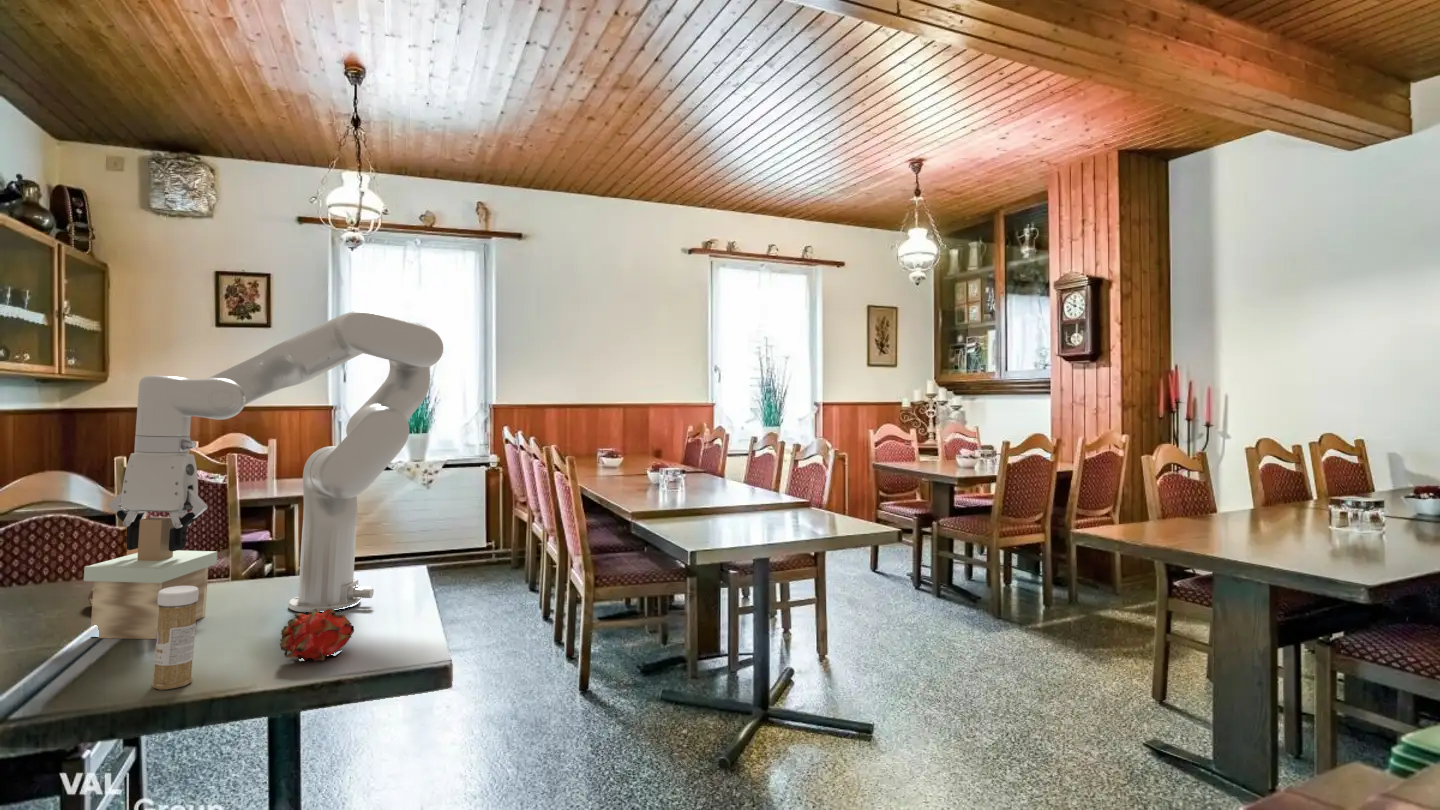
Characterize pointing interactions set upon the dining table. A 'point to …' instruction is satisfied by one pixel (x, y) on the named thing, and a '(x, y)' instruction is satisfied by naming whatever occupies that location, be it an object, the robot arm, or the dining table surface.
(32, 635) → the dining table surface
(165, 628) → the sprinkles bottle
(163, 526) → the lid
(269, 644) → the dining table surface
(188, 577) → the pine box
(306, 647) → the dragon fruit
